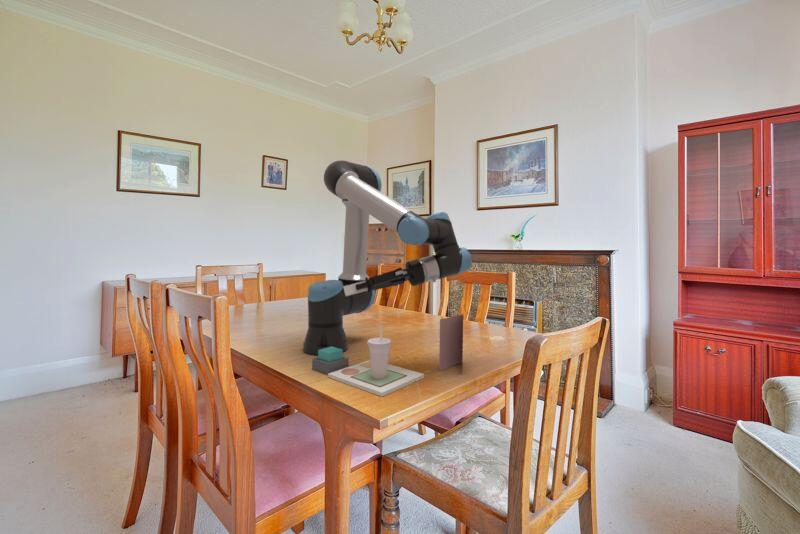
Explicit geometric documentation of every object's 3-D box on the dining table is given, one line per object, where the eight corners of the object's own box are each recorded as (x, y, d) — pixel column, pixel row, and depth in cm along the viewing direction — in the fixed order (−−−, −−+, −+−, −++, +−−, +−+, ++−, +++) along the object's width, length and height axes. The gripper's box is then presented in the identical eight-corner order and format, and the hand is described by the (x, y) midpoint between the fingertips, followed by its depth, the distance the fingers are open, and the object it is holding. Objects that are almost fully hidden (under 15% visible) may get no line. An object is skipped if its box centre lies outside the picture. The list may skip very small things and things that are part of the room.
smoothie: (388, 381, 96) (388, 327, 95) (364, 379, 98) (364, 326, 97) (393, 372, 102) (393, 322, 101) (371, 371, 104) (371, 321, 103)
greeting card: (460, 361, 117) (460, 313, 116) (480, 367, 111) (481, 317, 111) (436, 370, 109) (437, 319, 108) (457, 376, 103) (458, 322, 102)
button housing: (312, 369, 109) (312, 358, 108) (332, 362, 114) (332, 353, 114) (328, 374, 104) (328, 364, 104) (348, 368, 109) (348, 358, 109)
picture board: (328, 377, 102) (328, 373, 102) (371, 362, 115) (371, 358, 115) (382, 396, 89) (382, 392, 89) (424, 377, 102) (424, 373, 102)
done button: (318, 360, 109) (318, 350, 108) (331, 356, 112) (331, 346, 112) (329, 363, 105) (329, 353, 105) (342, 359, 109) (342, 349, 109)
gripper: (430, 277, 105) (348, 299, 100) (420, 287, 117) (347, 307, 112) (422, 252, 107) (341, 273, 102) (413, 265, 119) (341, 284, 114)
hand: (344, 291), depth 107 cm, fingers closed
